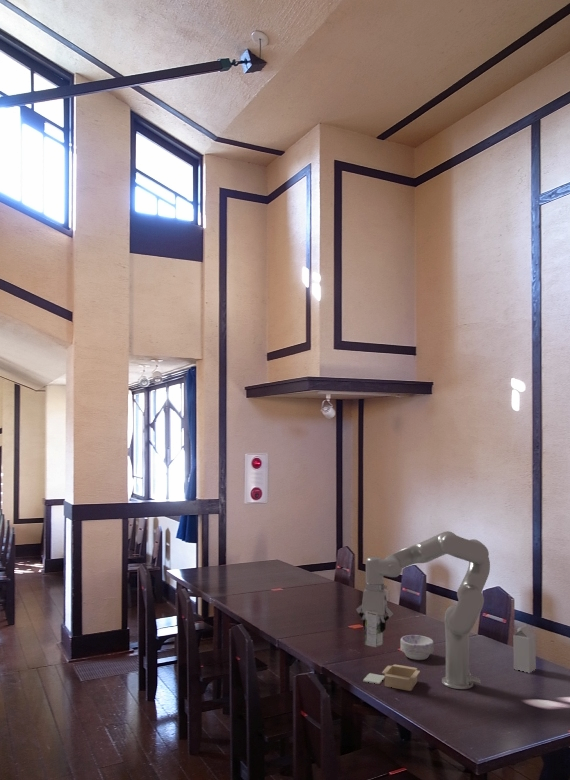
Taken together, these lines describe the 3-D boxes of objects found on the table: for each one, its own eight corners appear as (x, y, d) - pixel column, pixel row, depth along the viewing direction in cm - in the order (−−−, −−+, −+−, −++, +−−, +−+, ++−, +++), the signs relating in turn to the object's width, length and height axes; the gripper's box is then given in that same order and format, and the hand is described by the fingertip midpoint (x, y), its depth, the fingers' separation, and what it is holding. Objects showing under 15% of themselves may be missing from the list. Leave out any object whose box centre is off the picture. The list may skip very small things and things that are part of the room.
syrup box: (371, 641, 272) (371, 607, 273) (383, 644, 268) (383, 609, 270) (364, 645, 268) (364, 609, 269) (376, 648, 264) (376, 612, 265)
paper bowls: (420, 664, 285) (420, 646, 286) (393, 656, 297) (393, 638, 298) (440, 657, 295) (440, 640, 296) (413, 649, 307) (413, 632, 308)
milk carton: (536, 669, 281) (535, 625, 283) (529, 673, 276) (528, 629, 278) (520, 665, 286) (519, 622, 288) (513, 669, 281) (512, 625, 282)
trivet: (385, 677, 269) (385, 675, 269) (379, 684, 261) (379, 682, 261) (369, 674, 272) (369, 673, 272) (363, 681, 264) (363, 680, 264)
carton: (421, 681, 266) (421, 668, 266) (413, 693, 252) (413, 680, 253) (389, 675, 272) (389, 663, 272) (379, 687, 258) (379, 674, 259)
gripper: (396, 587, 270) (396, 630, 268) (357, 583, 277) (357, 625, 276) (391, 591, 263) (391, 635, 261) (352, 586, 270) (351, 629, 269)
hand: (374, 629), depth 268 cm, fingers closed on syrup box, 6 cm apart
